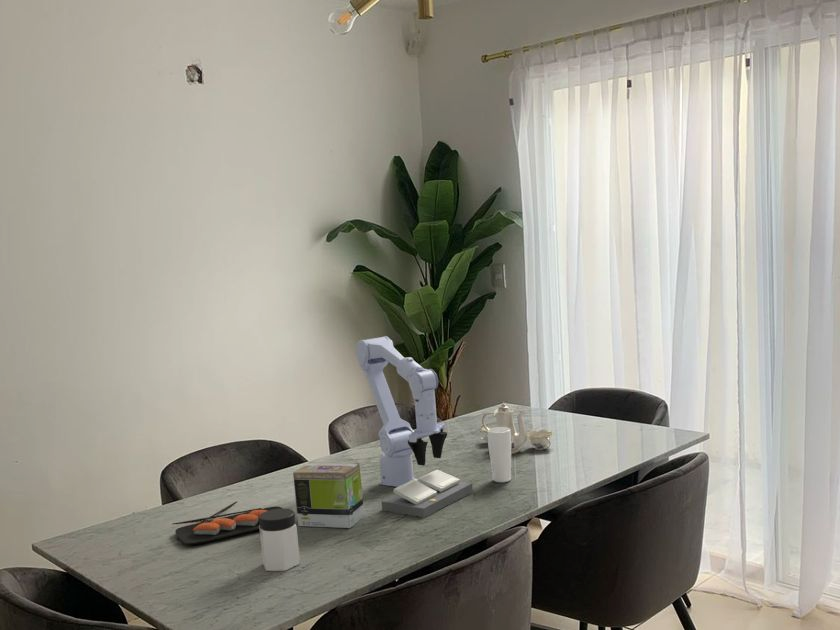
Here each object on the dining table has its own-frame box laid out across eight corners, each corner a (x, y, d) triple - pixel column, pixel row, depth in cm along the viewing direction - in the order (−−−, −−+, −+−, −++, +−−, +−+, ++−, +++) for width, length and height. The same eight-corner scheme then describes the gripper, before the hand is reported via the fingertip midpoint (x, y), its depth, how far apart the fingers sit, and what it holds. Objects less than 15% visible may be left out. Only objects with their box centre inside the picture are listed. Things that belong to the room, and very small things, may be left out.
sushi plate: (185, 552, 213) (183, 537, 213) (161, 519, 240) (160, 506, 240) (297, 525, 227) (295, 511, 226) (262, 497, 253) (261, 484, 253)
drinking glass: (512, 483, 247) (509, 432, 245) (489, 484, 248) (485, 432, 247) (514, 476, 253) (511, 426, 252) (491, 476, 255) (488, 427, 253)
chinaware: (560, 450, 284) (560, 400, 283) (539, 459, 269) (538, 406, 269) (485, 444, 299) (484, 396, 298) (461, 452, 284) (460, 401, 284)
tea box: (365, 516, 229) (360, 461, 227) (350, 529, 219) (345, 473, 218) (314, 513, 234) (309, 460, 232) (296, 527, 224) (291, 471, 223)
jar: (284, 554, 206) (279, 505, 204) (307, 561, 200) (303, 511, 199) (254, 567, 199) (249, 517, 198) (277, 575, 194) (272, 523, 192)
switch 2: (417, 481, 240) (418, 477, 240) (436, 472, 247) (437, 469, 247) (441, 491, 235) (441, 488, 235) (459, 482, 243) (460, 478, 242)
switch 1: (393, 492, 231) (393, 488, 231) (413, 482, 238) (414, 478, 238) (416, 505, 227) (417, 501, 226) (436, 495, 234) (437, 491, 234)
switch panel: (382, 510, 232) (381, 498, 232) (432, 485, 250) (431, 475, 250) (424, 517, 224) (423, 505, 223) (472, 492, 242) (472, 480, 242)
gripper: (421, 420, 233) (425, 469, 234) (452, 409, 244) (455, 456, 246) (401, 418, 237) (405, 467, 238) (432, 407, 248) (435, 453, 250)
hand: (429, 461), depth 242 cm, fingers open, 7 cm apart
